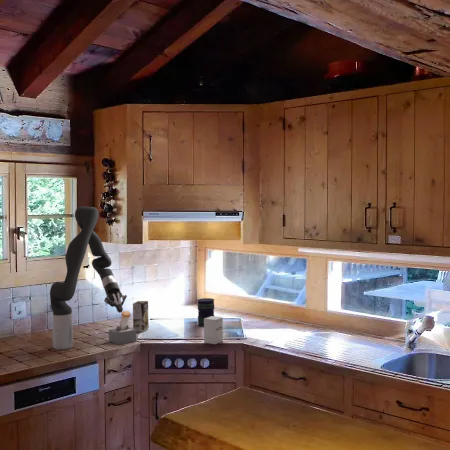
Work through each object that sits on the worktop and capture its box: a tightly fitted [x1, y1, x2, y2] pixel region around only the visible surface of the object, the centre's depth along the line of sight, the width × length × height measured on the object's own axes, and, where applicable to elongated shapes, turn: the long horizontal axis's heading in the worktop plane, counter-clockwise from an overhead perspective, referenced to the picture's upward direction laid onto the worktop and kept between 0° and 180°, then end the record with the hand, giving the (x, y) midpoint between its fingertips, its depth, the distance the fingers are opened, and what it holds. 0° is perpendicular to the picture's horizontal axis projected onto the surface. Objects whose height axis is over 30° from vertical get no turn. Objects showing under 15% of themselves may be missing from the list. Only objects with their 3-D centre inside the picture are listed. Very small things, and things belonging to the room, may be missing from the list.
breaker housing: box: [108, 324, 138, 346], centre depth 293 cm, size 10×11×8 cm
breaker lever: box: [118, 310, 131, 330], centre depth 291 cm, size 3×4×11 cm
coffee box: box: [132, 300, 150, 333], centre depth 317 cm, size 9×6×16 cm
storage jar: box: [197, 297, 215, 328], centre depth 327 cm, size 10×10×15 cm
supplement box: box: [203, 315, 224, 345], centre depth 288 cm, size 7×7×13 cm
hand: (120, 311), depth 294 cm, fingers closed
